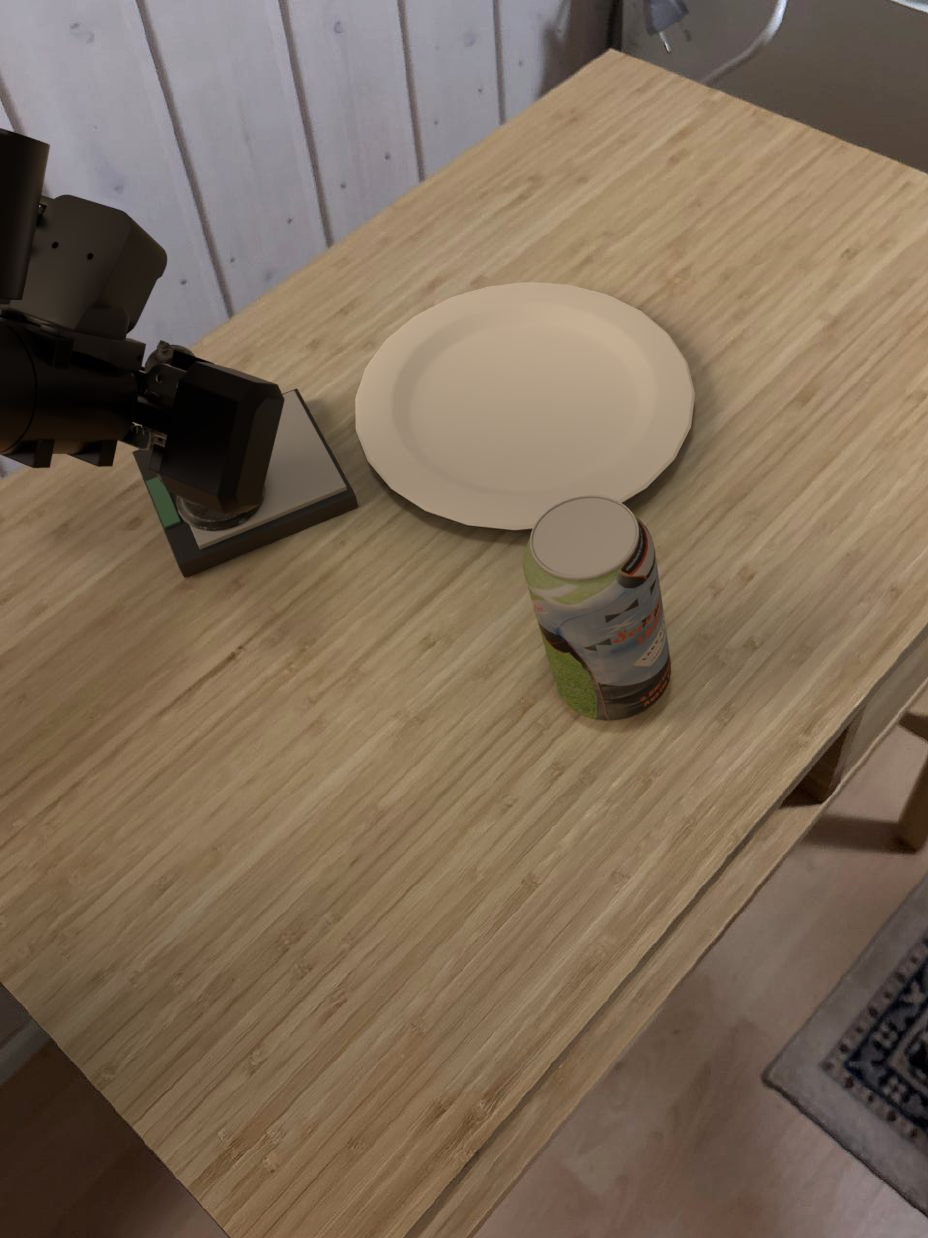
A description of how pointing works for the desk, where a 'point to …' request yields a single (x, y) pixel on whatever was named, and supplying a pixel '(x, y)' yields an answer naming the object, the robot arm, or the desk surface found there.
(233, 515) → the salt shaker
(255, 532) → the scale
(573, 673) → the beverage can
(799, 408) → the desk surface
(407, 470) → the plate
